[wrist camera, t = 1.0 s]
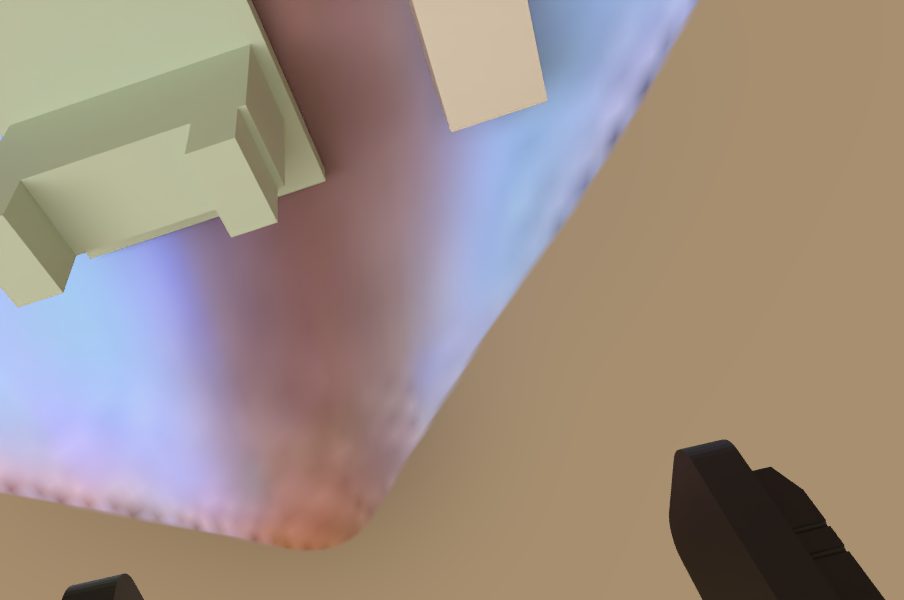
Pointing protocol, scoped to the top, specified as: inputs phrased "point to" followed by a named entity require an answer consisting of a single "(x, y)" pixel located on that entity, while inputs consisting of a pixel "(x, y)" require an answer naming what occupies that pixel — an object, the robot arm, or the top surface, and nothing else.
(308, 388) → the top surface
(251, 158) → the sage green peg rail
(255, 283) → the top surface
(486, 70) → the clay strip
